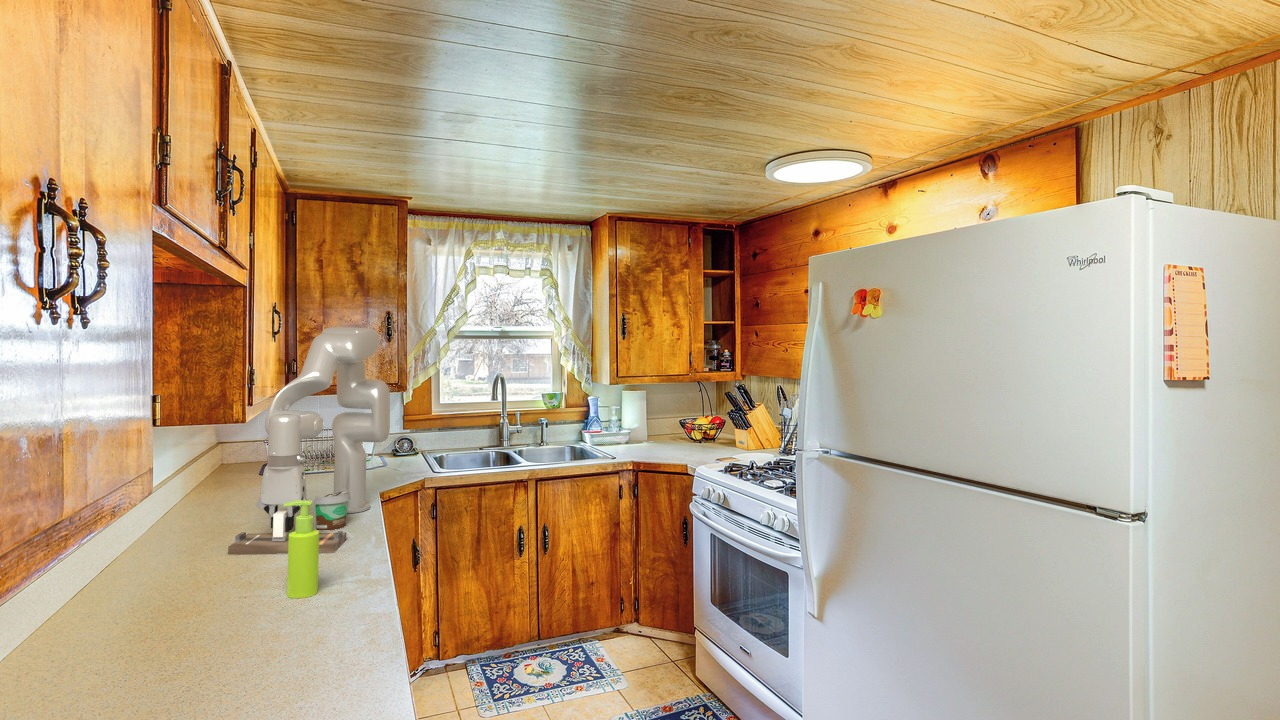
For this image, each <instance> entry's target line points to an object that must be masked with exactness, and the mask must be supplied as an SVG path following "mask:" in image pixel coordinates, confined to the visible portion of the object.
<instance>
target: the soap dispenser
mask: <svg viewBox="0 0 1280 720" xmlns="http://www.w3.org/2000/svg"><path fill="white" fill-rule="evenodd" d="M294 505H296V506H298V505H300V510H299V514H298V516H296V517H295V524H294V528H295V529H294V531H292V532H291V533H289V540H288V554H287V577H286V578H287V583H286V588H287V589H286V596H287V597H288V598H290V599H294V598H299V599H305V598H306V597H307V598H310V596H311V597H313V596H316V595H317V593H319V592H318V591H319V590H318V588H319V558H320V557H319V554H320V553H319V533H320V531H317V530H316V529H314V515H312V514H310V506H312V505H313V500H310V499H307V500H298V501H291V502H288V503H285V504H284V505H283V507H285V508H287V507H288V506H294Z"/></svg>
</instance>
